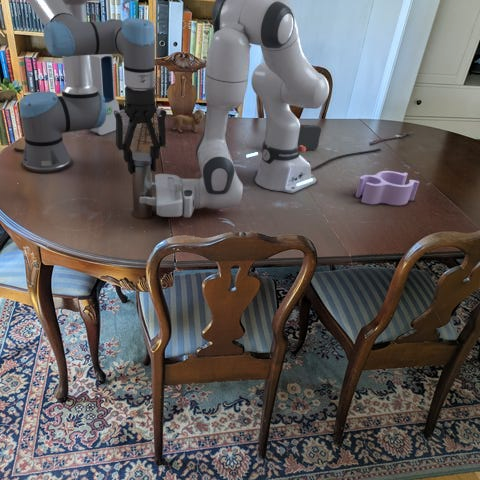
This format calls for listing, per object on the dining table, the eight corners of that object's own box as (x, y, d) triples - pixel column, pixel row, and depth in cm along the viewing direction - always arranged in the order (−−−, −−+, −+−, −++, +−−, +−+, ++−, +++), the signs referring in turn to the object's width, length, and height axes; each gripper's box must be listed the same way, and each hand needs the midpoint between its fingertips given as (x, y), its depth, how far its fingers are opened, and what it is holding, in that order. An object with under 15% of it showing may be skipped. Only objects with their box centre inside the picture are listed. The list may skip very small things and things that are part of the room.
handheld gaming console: (315, 147, 196) (319, 124, 190) (317, 149, 194) (322, 126, 188) (264, 149, 189) (267, 125, 183) (266, 152, 187) (269, 127, 181)
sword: (408, 132, 223) (408, 130, 222) (413, 134, 221) (414, 132, 220) (365, 144, 207) (365, 141, 206) (370, 146, 205) (370, 144, 204)
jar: (155, 215, 138) (155, 160, 128) (139, 220, 135) (137, 164, 125) (146, 207, 141) (145, 153, 132) (130, 211, 138) (128, 157, 129)
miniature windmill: (157, 154, 175) (156, 71, 159) (135, 150, 176) (133, 68, 160) (165, 145, 182) (165, 66, 166) (144, 142, 183) (143, 62, 167)
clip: (368, 208, 154) (373, 189, 150) (349, 190, 163) (353, 172, 160) (418, 203, 160) (424, 185, 156) (397, 187, 170) (402, 169, 166)
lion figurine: (201, 127, 203) (202, 107, 198) (204, 132, 199) (205, 111, 194) (168, 129, 198) (168, 108, 193) (170, 133, 194) (171, 112, 189)
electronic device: (99, 136, 184) (93, 56, 168) (85, 131, 187) (78, 52, 171) (121, 128, 194) (118, 52, 177) (108, 124, 197) (103, 48, 180)
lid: (143, 156, 132) (143, 151, 131) (156, 163, 129) (156, 157, 128) (126, 161, 129) (126, 155, 128) (139, 168, 125) (139, 162, 125)
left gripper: (105, 92, 111) (111, 180, 124) (180, 89, 119) (178, 172, 131) (98, 83, 117) (104, 168, 129) (170, 81, 124) (169, 162, 137)
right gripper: (184, 168, 144) (138, 168, 141) (191, 200, 127) (139, 200, 124) (184, 187, 147) (139, 187, 144) (190, 220, 130) (139, 221, 127)
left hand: (141, 170), depth 130 cm, fingers closed on lid, 6 cm apart
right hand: (139, 193), depth 134 cm, fingers closed on jar, 5 cm apart
